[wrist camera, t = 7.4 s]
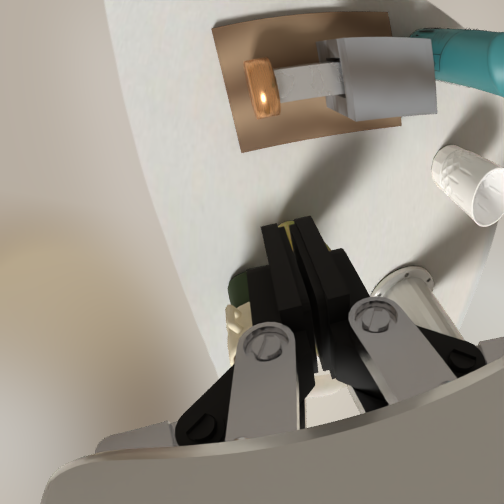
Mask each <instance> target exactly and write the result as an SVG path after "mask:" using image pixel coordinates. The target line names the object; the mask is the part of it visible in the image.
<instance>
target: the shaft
mask: <svg viewBox="0 0 504 504" xmlns="http://www.w3.org/2000/svg"><path fill="white" fill-rule="evenodd" d="M243 64H244V72H245V77H246V82H247V87H248V91H249V95H250V99H251V103H252V107H253V110H254V113H255V116H256V118H257V120H258V119H262V118H267V117H272V116H278V115H280V113H281V104H280V103H285V102H290V101H296V100H302V99H309V98H316V97H323V96H330V95H338V94H345V88H344V81H343V75H342V68H341V62H340V61H329V62H319V63H310V64H303V65H295V66H288V67H282V68H276V69H273V67H272V65H271V62H270V60H269V59H268V57H263V58H257V59H252V60H247V61H244V62H243Z"/></svg>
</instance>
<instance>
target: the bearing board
mask: <svg viewBox="0 0 504 504" xmlns="http://www.w3.org/2000/svg"><path fill="white" fill-rule="evenodd" d="M212 33H213V37H214V41H215V46H216V50H217V54H218V58H219V62H220V66H221V70H222V74H223V78H224V82H225V86H226V90H227V94H228V99H229V103H230V107H231V111H232V115H233V119H234V124H235V128H236V132H237V136H238V140H239V145H240V149H241V153H244V152H249V151H253V150H258V149H262V148H267V147H272V146H276V145H281V144H286V143H291V142H297V141H302V140H307V139H313V138H319V137H325V136H331V135H337V134H343V133H350V132H357V131H364V130H371V129H379V128H387V127H396V126H401V117H402V116H413V115H426V114H437V99H436V83H435V71H434V61H433V52H432V44H431V39H425V38H408V37H392V33H391V27H390V21H389V16H388V12H323V13H308V14H297V15H287V16H279V17H271V18H264V19H258V20H252V21H246V22H241V23H235V24H230V25H225V26H221V27H216V28H212ZM263 57H268V59H269V60H270V62H271V65H272V67H273V69H276V68H282V67H288V66H295V65H303V64H310V63H319V62H329V61H340V62H341V68H342V75H343V81H344V88H345V94H338V95H330V96H323V97H316V98H309V99H302V100H296V101H290V102H285V103H280V104H281V113H280V115H278V116H272V117H267V118H262V119H258V120H257V118H256V116H255V113H254V110H253V107H252V103H251V99H250V95H249V91H248V87H247V82H246V77H245V72H244V64H243V62H244V61H247V60H252V59H257V58H263Z"/></svg>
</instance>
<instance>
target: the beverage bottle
mask: <svg viewBox="0 0 504 504" xmlns="http://www.w3.org/2000/svg"><path fill="white" fill-rule="evenodd" d="M420 29H421V28H420ZM409 38H425V39H431V44H432V52H433V61H434V71H435V79H437V81H438V80H441V82H444V81H446V82H450V83H455V84H459V85H463V86H467V87H472V88H475V89H479V90H482V91H486V92H489V93H492V94H495V95H498V96H501V97H504V32H491V31H483V30H482V31H481V30H471V29H470V30H468V29H467V30H466V29H449V28H448V29H444V28H443V29H440V28H435V29H433V28H432V29H430V28H424V29H421V30H417V31H416V32H414V33H413V34H412V35H411V36H410V37H409ZM435 81H436V80H435ZM450 83H449V84H450ZM455 84H453V85H455ZM457 86H458V85H457Z"/></svg>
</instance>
